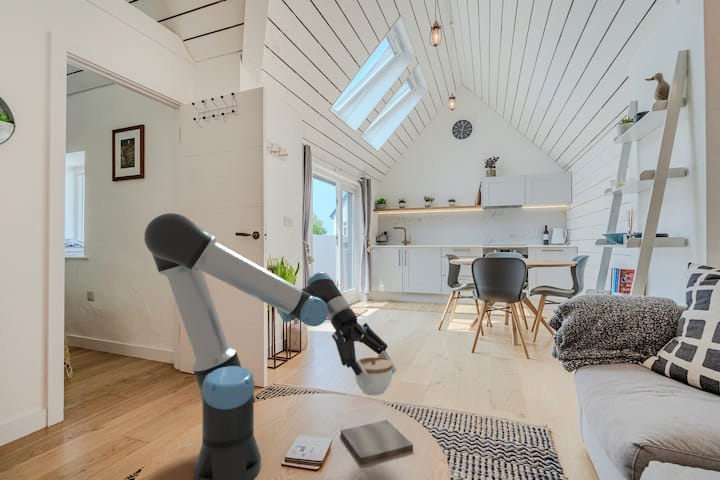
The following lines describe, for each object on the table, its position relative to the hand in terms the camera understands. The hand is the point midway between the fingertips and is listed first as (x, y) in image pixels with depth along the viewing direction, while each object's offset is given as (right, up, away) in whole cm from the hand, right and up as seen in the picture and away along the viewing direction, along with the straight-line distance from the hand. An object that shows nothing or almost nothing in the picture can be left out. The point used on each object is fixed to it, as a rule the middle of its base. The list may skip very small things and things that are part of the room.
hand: (381, 378), depth 96 cm
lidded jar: (-2, -5, +2) cm, 5 cm away
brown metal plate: (-2, -18, +1) cm, 18 cm away
